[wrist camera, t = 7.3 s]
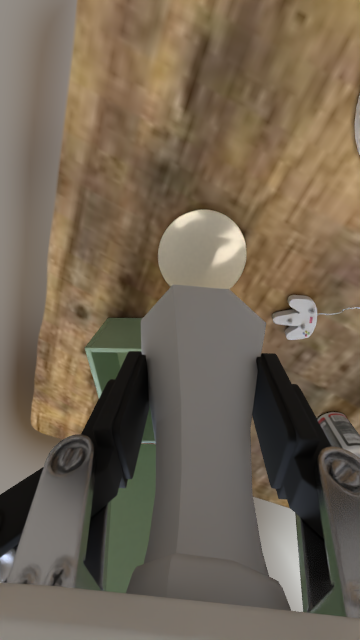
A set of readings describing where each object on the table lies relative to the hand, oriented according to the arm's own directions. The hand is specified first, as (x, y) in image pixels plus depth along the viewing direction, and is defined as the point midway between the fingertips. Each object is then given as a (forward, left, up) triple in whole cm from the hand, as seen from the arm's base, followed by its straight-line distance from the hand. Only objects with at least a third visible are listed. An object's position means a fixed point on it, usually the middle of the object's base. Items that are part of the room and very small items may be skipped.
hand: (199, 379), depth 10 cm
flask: (0, 0, -4) cm, 4 cm away
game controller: (+5, +15, -18) cm, 25 cm away
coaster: (-2, 0, -18) cm, 18 cm away
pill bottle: (+25, +22, -18) cm, 38 cm away
